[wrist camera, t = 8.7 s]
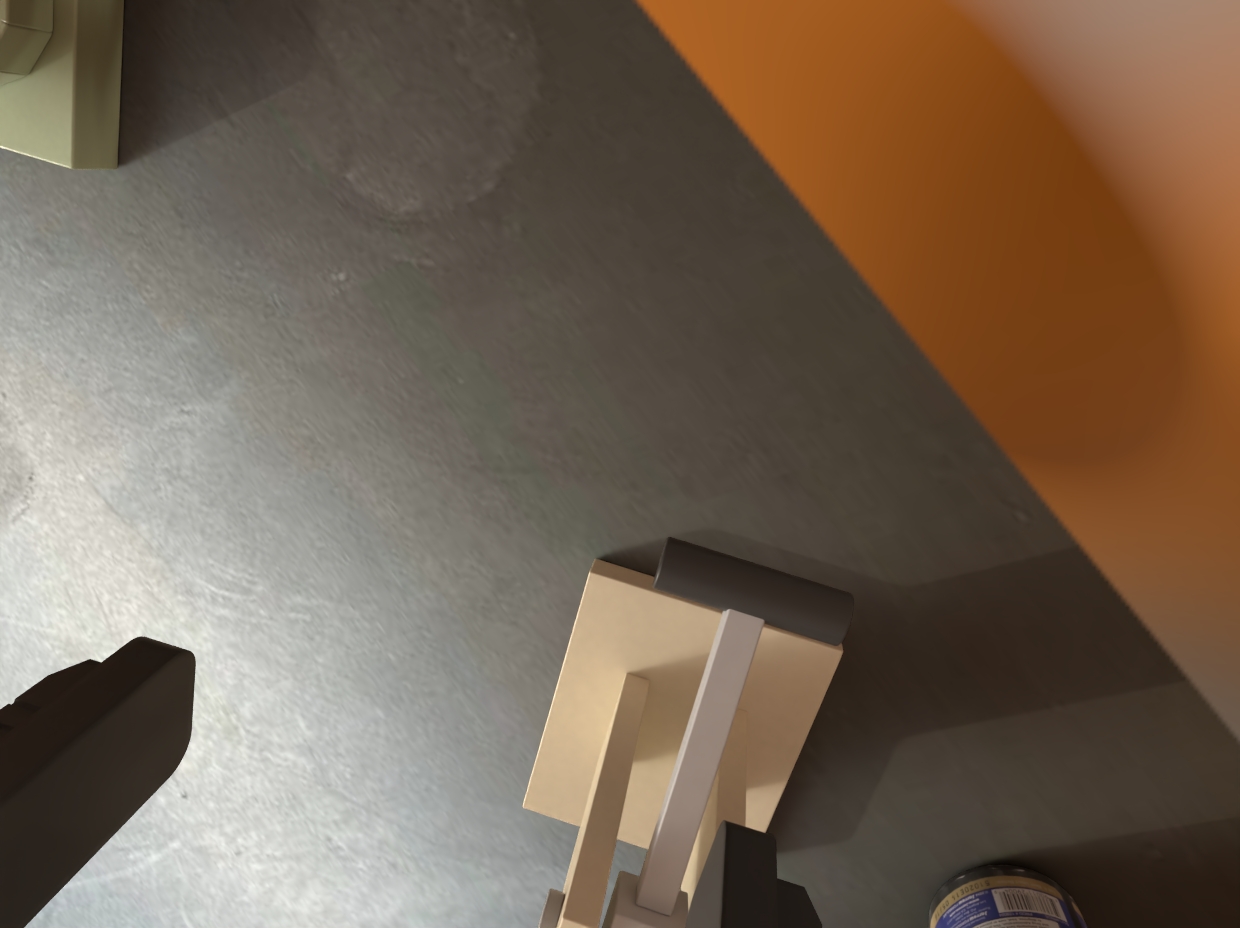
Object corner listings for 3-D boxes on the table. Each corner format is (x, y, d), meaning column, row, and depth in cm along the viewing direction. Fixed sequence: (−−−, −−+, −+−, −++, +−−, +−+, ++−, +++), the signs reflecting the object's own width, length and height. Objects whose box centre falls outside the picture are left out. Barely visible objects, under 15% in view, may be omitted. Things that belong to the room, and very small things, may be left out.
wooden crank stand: (595, 557, 33) (502, 778, 21) (841, 635, 32) (890, 907, 20) (528, 788, 37) (420, 1081, 25) (745, 860, 37) (739, 1195, 25)
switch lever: (668, 531, 25) (667, 541, 23) (844, 586, 25) (862, 602, 22) (543, 936, 26) (529, 986, 23) (713, 994, 26) (717, 1051, 23)
